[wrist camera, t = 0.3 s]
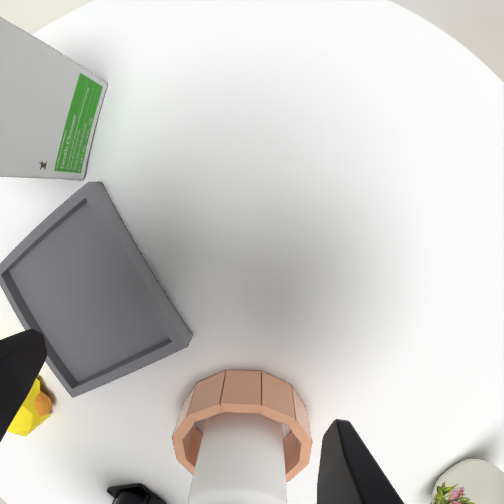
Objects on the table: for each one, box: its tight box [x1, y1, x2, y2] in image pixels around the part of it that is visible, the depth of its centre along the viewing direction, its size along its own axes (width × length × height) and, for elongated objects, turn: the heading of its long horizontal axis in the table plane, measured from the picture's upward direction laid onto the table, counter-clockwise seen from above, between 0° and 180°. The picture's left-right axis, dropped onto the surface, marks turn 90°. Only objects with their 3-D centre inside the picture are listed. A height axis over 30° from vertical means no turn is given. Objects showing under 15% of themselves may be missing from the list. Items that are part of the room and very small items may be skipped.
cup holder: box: [172, 370, 312, 482], centre depth 23 cm, size 11×11×4 cm
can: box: [188, 412, 287, 504], centre depth 20 cm, size 6×6×12 cm
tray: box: [0, 182, 192, 398], centre depth 23 cm, size 14×14×2 cm
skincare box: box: [0, 17, 107, 180], centre depth 13 cm, size 8×7×16 cm
